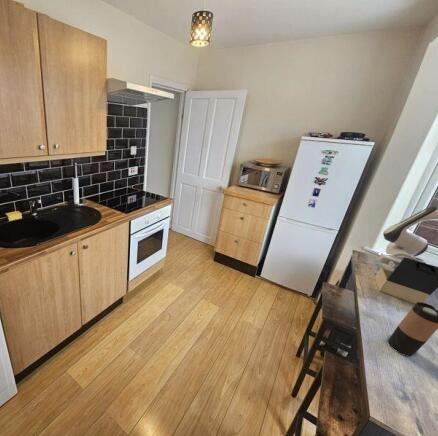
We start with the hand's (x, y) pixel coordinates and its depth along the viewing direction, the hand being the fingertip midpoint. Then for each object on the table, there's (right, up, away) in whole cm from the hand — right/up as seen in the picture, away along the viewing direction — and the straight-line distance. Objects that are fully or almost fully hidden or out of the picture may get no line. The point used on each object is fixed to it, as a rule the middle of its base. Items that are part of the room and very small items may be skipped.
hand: (407, 271), depth 118 cm
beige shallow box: (-2, -11, +3) cm, 12 cm away
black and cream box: (-6, 0, -9) cm, 11 cm away
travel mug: (-36, -23, -29) cm, 52 cm away
